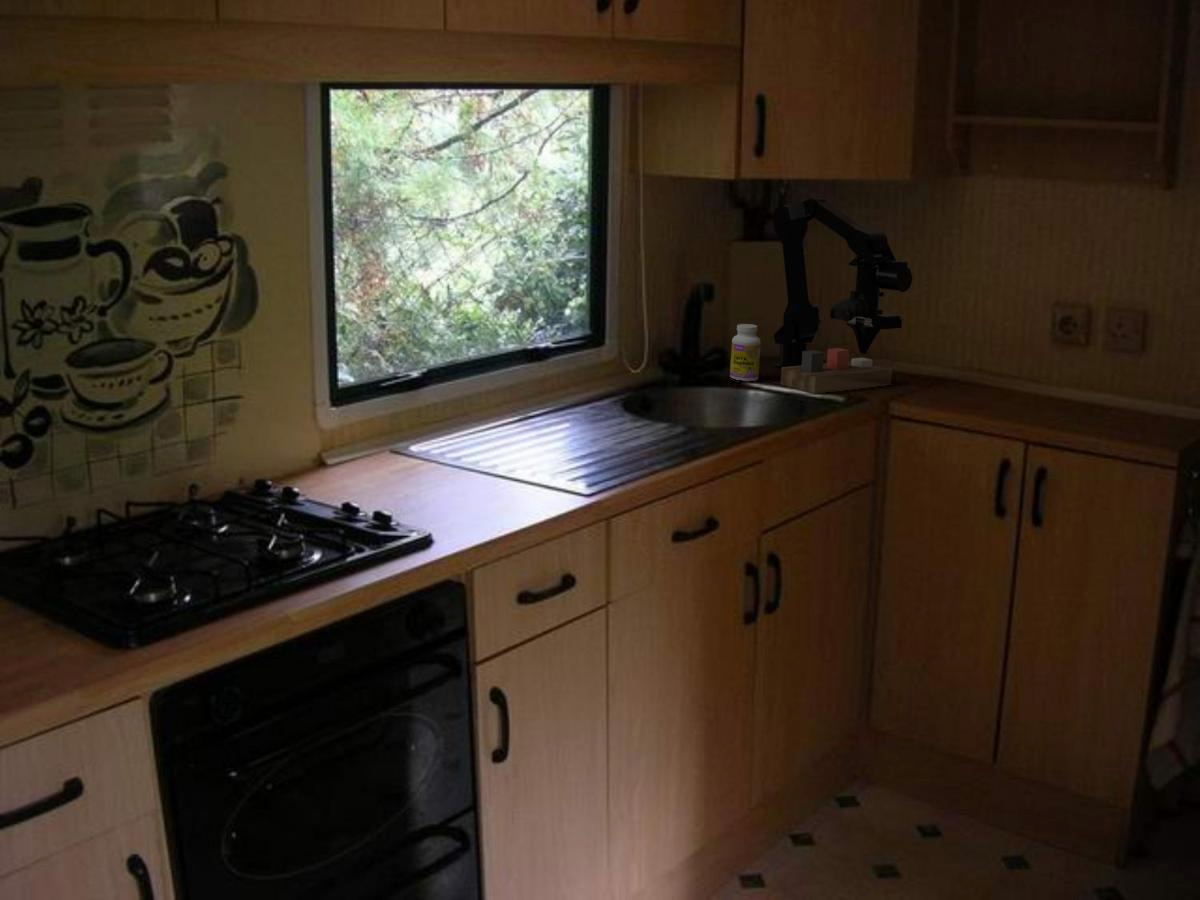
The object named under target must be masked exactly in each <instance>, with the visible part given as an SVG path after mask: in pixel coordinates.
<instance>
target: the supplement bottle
mask: <svg viewBox="0 0 1200 900" xmlns="http://www.w3.org/2000/svg"><path fill="white" fill-rule="evenodd" d="M736 331H737V334H736V335H734V336H733V337H732V339H731V352H730V353H731V354H730V368H729V378H730V377H731V378H733V379H736V380H742V381H754V382H757V380H758V379H759V375H760V374H759V372H760V359H761V358H760V357H761V342H762V341H761V339H760V337H759V336H757V332H758V325H755V324H751V323H740V324H737V325H736ZM731 378H730V379H731Z"/></svg>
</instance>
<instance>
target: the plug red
mask: <svg viewBox="0 0 1200 900" xmlns="http://www.w3.org/2000/svg"><path fill="white" fill-rule="evenodd" d="M849 355H850V350H849V349H844V348H842V347H841V348H840V347H835V348H828V349H827V355H826V356H827V357H826V363H827V368H829V369H833V370H844V369H848V361H849V357H850V356H849Z"/></svg>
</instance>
